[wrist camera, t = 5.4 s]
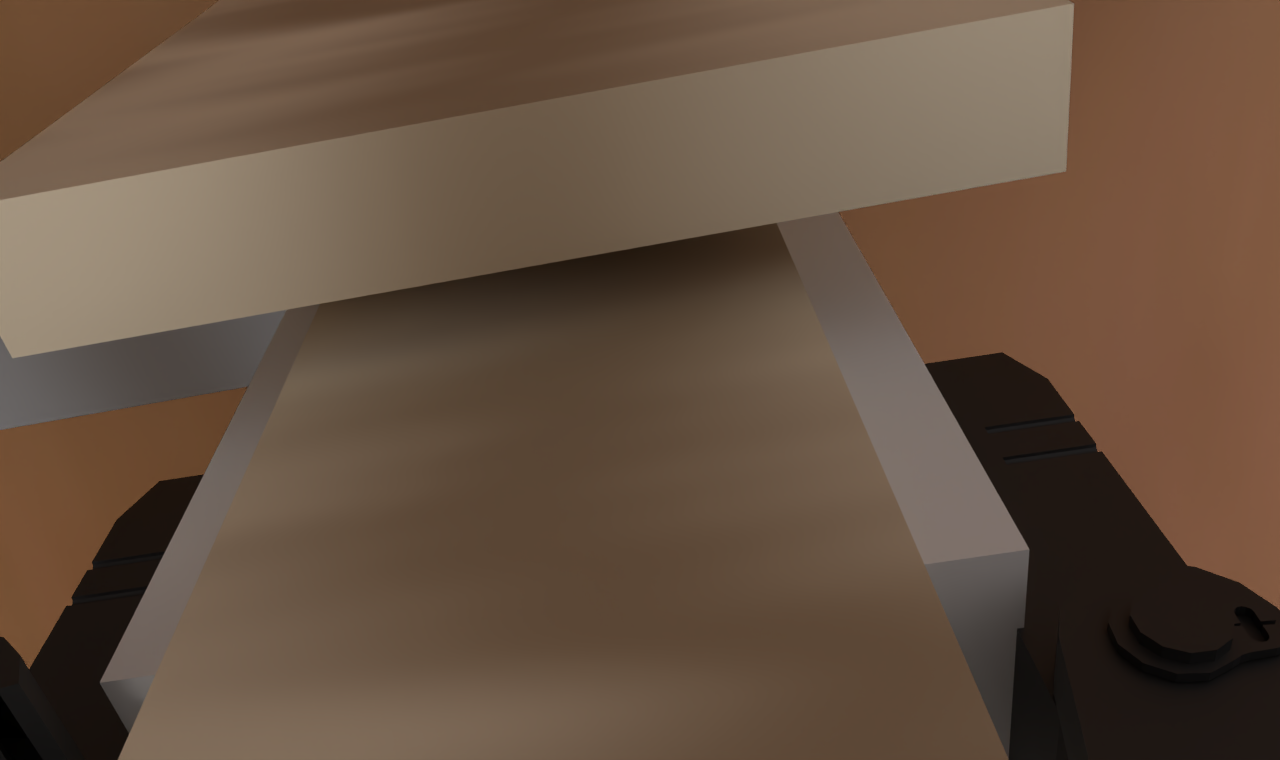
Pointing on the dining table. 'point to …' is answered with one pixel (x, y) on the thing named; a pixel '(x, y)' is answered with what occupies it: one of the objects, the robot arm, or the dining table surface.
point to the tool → (525, 363)
